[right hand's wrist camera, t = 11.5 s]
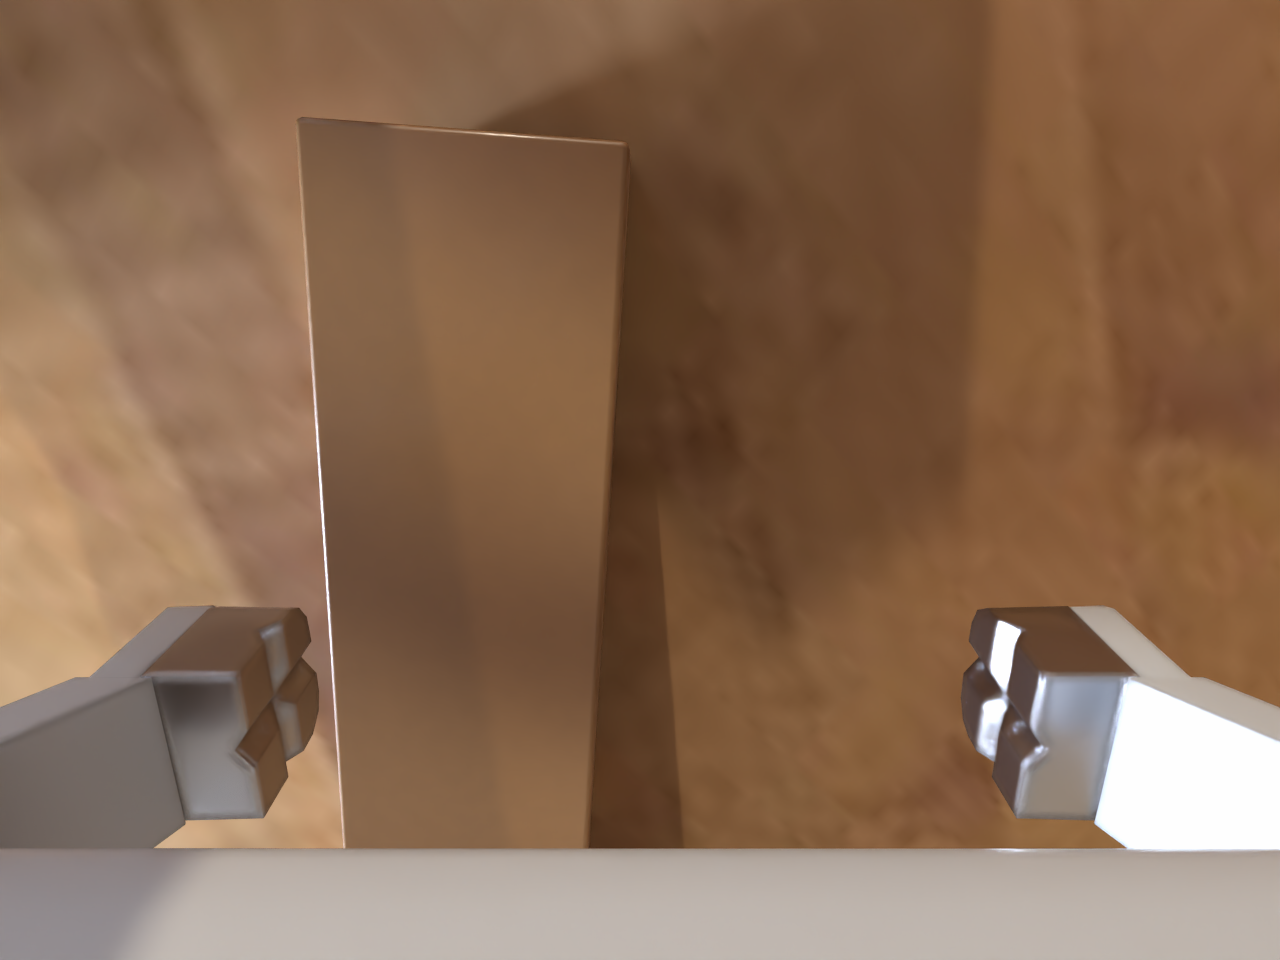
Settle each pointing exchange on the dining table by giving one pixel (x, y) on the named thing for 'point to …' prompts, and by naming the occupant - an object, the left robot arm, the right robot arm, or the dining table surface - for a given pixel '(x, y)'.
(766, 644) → the dining table surface
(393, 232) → the post
